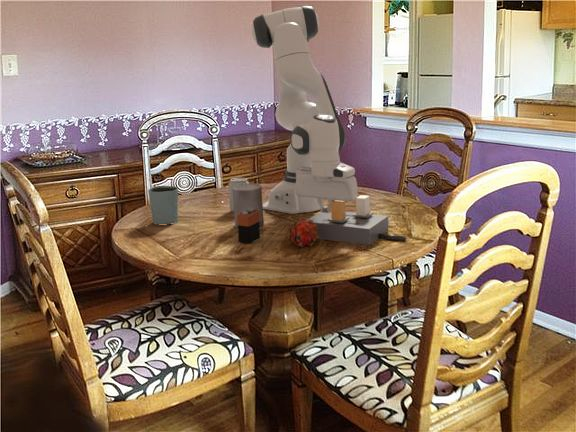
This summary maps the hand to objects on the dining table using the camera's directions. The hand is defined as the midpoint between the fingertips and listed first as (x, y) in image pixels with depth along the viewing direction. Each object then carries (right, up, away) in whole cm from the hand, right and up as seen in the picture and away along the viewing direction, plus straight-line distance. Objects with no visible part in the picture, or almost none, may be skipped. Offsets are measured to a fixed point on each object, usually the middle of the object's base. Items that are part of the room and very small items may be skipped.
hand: (326, 212), depth 200 cm
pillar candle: (-25, -5, +16) cm, 30 cm away
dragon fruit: (-7, -10, -7) cm, 14 cm away
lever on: (+12, -1, +4) cm, 12 cm away
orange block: (+4, -2, -1) cm, 5 cm away
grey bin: (-55, -3, +25) cm, 60 cm away
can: (-29, +1, +36) cm, 47 cm away
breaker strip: (+10, -7, +1) cm, 13 cm away
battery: (-24, -9, 0) cm, 26 cm away
